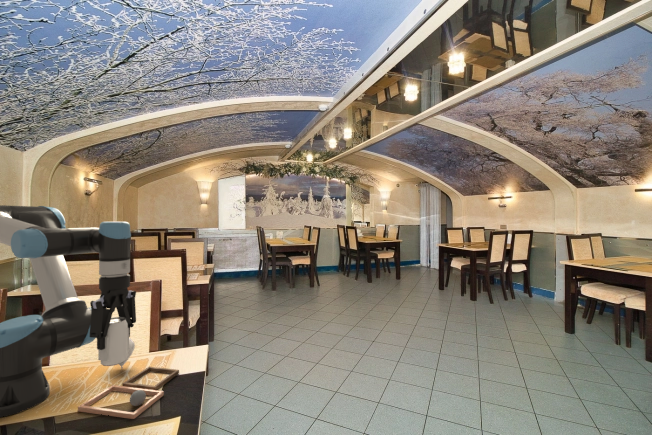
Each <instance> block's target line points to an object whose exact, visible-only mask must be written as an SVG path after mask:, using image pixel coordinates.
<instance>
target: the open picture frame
mask: <svg viewBox="0 0 652 435" xmlns="http://www.w3.org/2000/svg"><path fill="white" fill-rule="evenodd" d="M137 390H143V391H144V392H145V393H146V396H153V397H151V398H150V399H149V400H148V401H146V402H145V403H143V404H141V405H142V406H141V405H140V407H139V408H137V409H136V410H135V411H125V410H119V409H111V408H106V407H105V408H104V407H99V406H98V407H97V406H91V405H93V404H94V403H96V402H98V401H99V400H100V399H102V398H104V397H106V396H107V395H108V394H111V393H112V392H122V393H129V394H130V393H131V394H132V393H133V392H135V391H137ZM164 394H165V392H164V391H163V390H159V389H158V390H149V389H141V388H133V387H124V386H122V385H114V384H112V385H111V386H109V387H108V388H106V389H104V390H103V391H101V392H99V393H98V394H96V395H95V396H93V397H92V398H90V399H88V400H86V401H84V402H83V403H81V404H80V405H78V406H77V412H81V413H88V414H96V415H101V414H102V415H101V416H108V415H109V416H110V417H115V418H116V417H117V418H124V419H131V420H135V419H136V418H137V417H138V416H139V415H141V414H142V413H144V412H145V411H146V410H147V409H148V408H149V407H151V406H152V405H153V404H154V403H156V402H157V401H159V399H161V398H162V397H164ZM109 416H108V417H109Z"/></svg>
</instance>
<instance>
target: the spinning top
mask: <svg viewBox="0 0 652 435" xmlns="http://www.w3.org/2000/svg"><path fill="white" fill-rule="evenodd" d="M135 346H136V344H135V342H134V341H133V339H131V337H129V350H127V359H126V360H125V361H124V362H123V363H121V364H118V366H120V367H121V368H120V369H123V366H124V365H125V364H126V363H127V361H128V360H129V359H130V357H131V356H132V354H133V352H134V351H135V348H136V347H135Z"/></svg>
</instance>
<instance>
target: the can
mask: <svg viewBox="0 0 652 435" xmlns="http://www.w3.org/2000/svg"><path fill="white" fill-rule="evenodd" d="M101 333H102V332H101ZM107 336H109V360H108V361H101V360H100V364H101V365H102V366H104V367H113V366H119V364H121V363H123V362H124V361H125V360H126V359H127V348H128V323H127V321H126V318H125V317H119V316H116V317H111V321H110V325H109V328H108V332H107Z"/></svg>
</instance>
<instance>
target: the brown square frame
mask: <svg viewBox="0 0 652 435" xmlns="http://www.w3.org/2000/svg"><path fill="white" fill-rule="evenodd" d="M150 372H152V373H159V374H160V373H161V374H169V375H167V376H166V377H165V378H163V379H162V380H161V381H159V382H158V383H157V384H155V385H152V384H151V385H150V384H143V383H134V382H135V381H137V380H138V379H140V378H141V377H143V376H145V375H146V374H148V373H150ZM178 373H180V369H177V368H175V369H174V368H164V367H157V366H147V368H145V369H143V370H141V371H140V372H138V373H136V374H135V375H134V376H132V377H130V378H129V379H128V380H126V381H124V382H122V384H121V386H124V387H133V388H141V389H149V390H158V391H159V389H160V388H162V387H163V386H164V385H165V384H168V382H170V381H171V380H172V379H173V378H175V377H176V376H178V375H179V374H178Z"/></svg>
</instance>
